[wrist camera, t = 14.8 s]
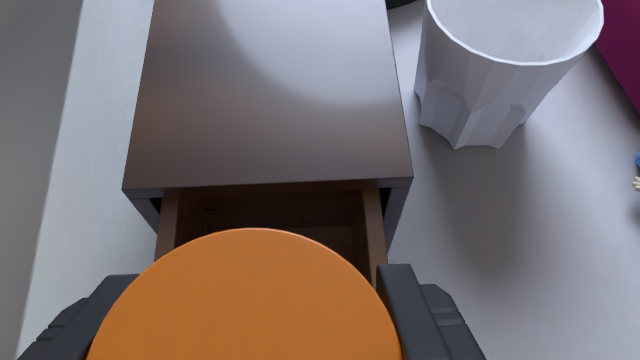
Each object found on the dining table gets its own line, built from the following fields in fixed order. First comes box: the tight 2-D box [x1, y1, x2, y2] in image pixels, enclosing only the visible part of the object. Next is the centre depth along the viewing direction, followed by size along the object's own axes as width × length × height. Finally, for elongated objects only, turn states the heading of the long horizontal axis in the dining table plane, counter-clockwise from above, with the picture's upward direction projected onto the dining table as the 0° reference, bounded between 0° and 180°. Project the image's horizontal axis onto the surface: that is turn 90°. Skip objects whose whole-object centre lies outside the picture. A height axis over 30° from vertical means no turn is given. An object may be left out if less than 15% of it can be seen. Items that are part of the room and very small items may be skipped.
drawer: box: [154, 188, 388, 291], centre depth 23 cm, size 17×12×9 cm
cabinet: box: [121, 0, 414, 254], centre depth 29 cm, size 14×13×11 cm
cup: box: [414, 0, 604, 150], centre depth 32 cm, size 10×10×10 cm
